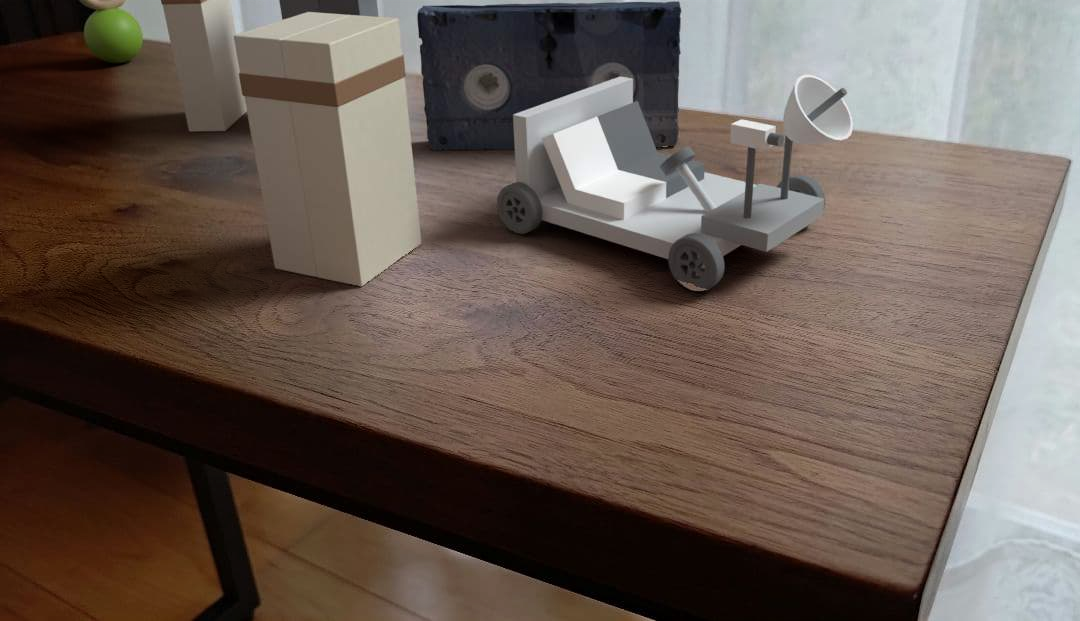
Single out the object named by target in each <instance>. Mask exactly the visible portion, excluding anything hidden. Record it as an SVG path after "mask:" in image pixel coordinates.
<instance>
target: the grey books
mask: <svg viewBox="0 0 1080 621" xmlns="http://www.w3.org/2000/svg"><path fill="white" fill-rule="evenodd" d="M278 2H279V8H280V14H281V20H284V19H287V18H291V17H294V16H297V15H300V14H303V13H306V12H316V13H330V14H344V15H351V16H352V15H358V16H372V17H379V9H378V0H278Z"/></svg>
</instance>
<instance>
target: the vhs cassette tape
mask: <svg viewBox="0 0 1080 621" xmlns="http://www.w3.org/2000/svg"><path fill="white" fill-rule="evenodd" d="M681 13H682V7H681V3H680V1H679V0H678V1H665V2H663V1H662V2H661V1H660V2H659V1H623V2H622V1H621V2H612V1H611V2H610V1H609V2H591V3H586V2H585V3H584V2H580V3H579V2H578V3H577V2H576V3H571V2H570V3H568V2H551V3H545V2H544V3H503V4H501V3H500V4H485V5H472V4H471V5H470V4H469V5H468V4H449V5H448V4H447V5H422V7H420V8H419V9H418V11H417V13H416V14H417V15H416V20H417V29H418V30H417V31H418V38H419V39H420V40H421V44H420V45H419V53H420V72H421V75H422V91H423V101H424V106H423V107H424V108H423V111H424V114H425V123H426V137H427V140H428V141H427V142H428V147H429V148H430V150H431V149H432V151H457V149H458V150H466V149H467V150H470V151H472V150H473V151H474V150H475V151H476V150H480V151H481V150H484V149H487V150H489V149H494V150H515V144H514V123H513V114H516V113H519V112H522V111H525V110H527V109H530V108H533V107H536V106H539V105H542V104H544V103H547V102H550V101H553V100H556V99H558V98H561V97H564V96H567V95H570V94H572V93H575V92H578V91H581V90H584V89H586V88H589V87H592V86H595V85H598V84H600V83H603V82H606V81H609V80H612V79H615V78H617V77H620V76H621V77H626V78H632V79H633V102H636V101H638V103H639V106H640V108H641V111H642V113H643V116H644V119H645V121H646V124H647V126H648V129H649V132H650V134H651V137H652V140H653V142H654V145H655V147H662V146H673V147H675V146H676V145H677V143H678V138H679V130H680V129H679V128H680V127H679V111H680V110H679V88H680V79H679V77H680V55H681V45H680V43H681V28H682V27H681V24H682V23H681V22H682V21H681V20H682V19H681V18H682V17H681V15H682V14H681ZM442 149H444V150H442ZM449 149H450V150H449ZM484 151H485V150H484ZM489 151H490V150H489Z"/></svg>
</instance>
